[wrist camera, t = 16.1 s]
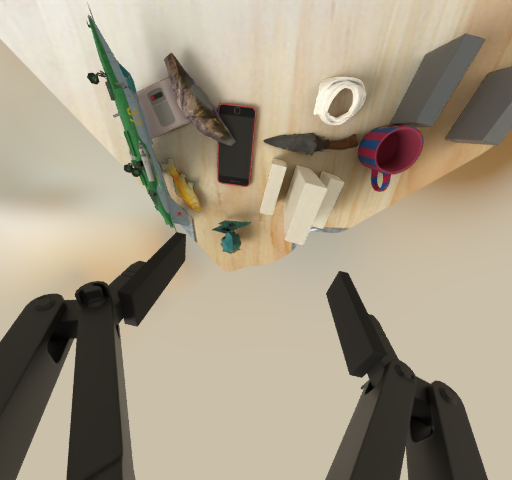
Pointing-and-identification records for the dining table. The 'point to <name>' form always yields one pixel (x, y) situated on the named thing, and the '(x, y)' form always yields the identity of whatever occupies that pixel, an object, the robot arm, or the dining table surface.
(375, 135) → the cup
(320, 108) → the white cloth wrap
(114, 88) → the airplane
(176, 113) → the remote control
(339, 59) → the dining table surface
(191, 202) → the fish
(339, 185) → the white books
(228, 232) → the figurine
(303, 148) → the knife
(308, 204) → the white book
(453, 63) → the pair of grey blocks
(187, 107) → the decorative rock
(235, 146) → the smartphone
